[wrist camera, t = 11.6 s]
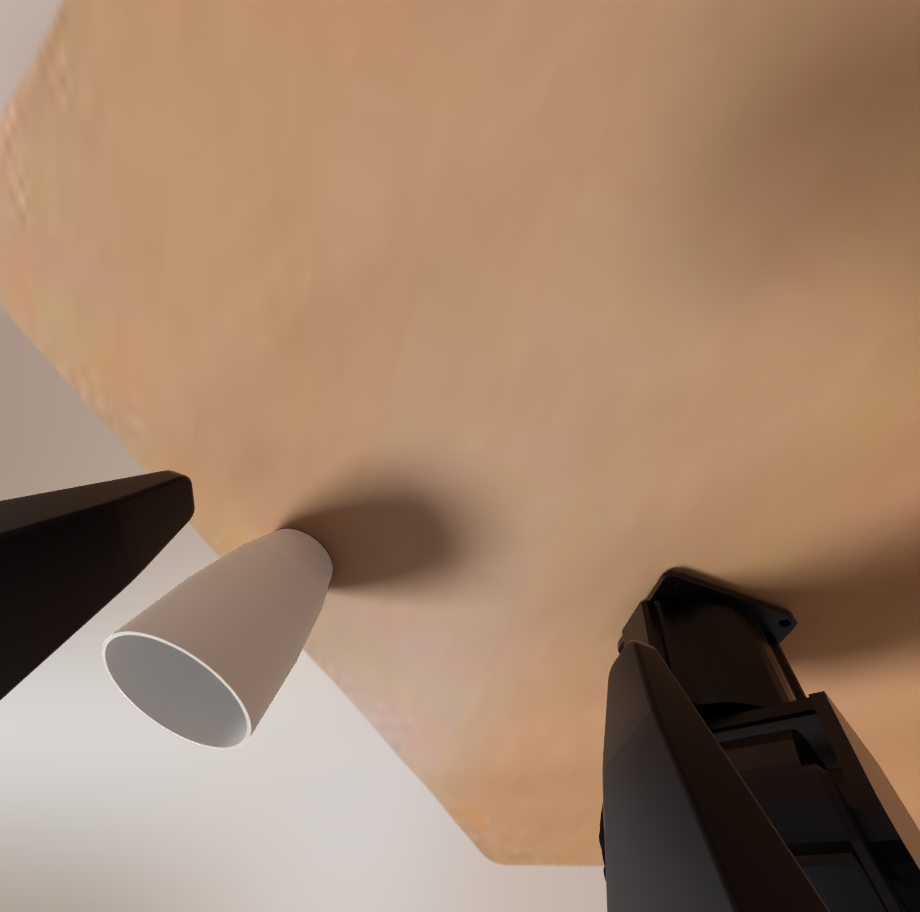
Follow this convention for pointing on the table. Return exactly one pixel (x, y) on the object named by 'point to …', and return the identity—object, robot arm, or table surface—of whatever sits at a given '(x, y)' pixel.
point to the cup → (223, 639)
